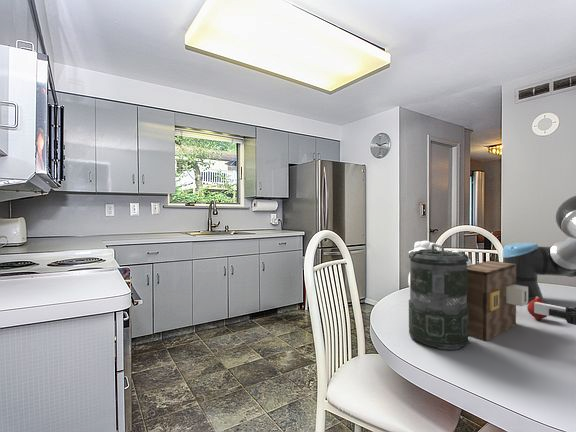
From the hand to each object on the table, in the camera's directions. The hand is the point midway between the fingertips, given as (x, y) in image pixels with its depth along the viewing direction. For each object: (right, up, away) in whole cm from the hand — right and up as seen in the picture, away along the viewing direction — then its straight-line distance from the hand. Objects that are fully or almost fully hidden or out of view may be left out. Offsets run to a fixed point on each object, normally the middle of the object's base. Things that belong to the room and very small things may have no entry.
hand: (535, 307), depth 83 cm
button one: (+5, -3, +14) cm, 15 cm away
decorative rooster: (-4, -11, +44) cm, 45 cm away
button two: (-7, -3, +10) cm, 12 cm away
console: (-3, -11, +15) cm, 19 cm away
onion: (+19, -11, +22) cm, 31 cm away
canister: (-23, -12, +8) cm, 27 cm away
